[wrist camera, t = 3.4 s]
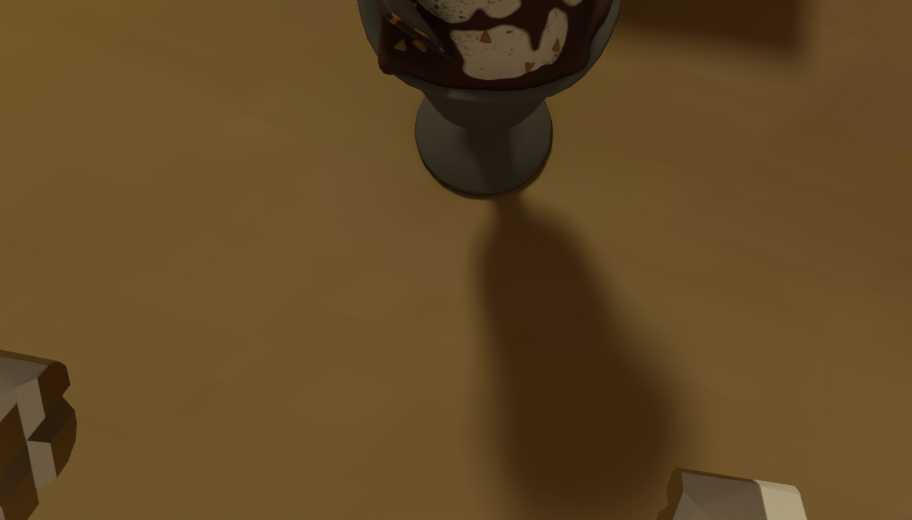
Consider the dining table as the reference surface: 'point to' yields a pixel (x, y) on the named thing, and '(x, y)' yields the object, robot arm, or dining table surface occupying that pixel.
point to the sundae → (487, 77)
